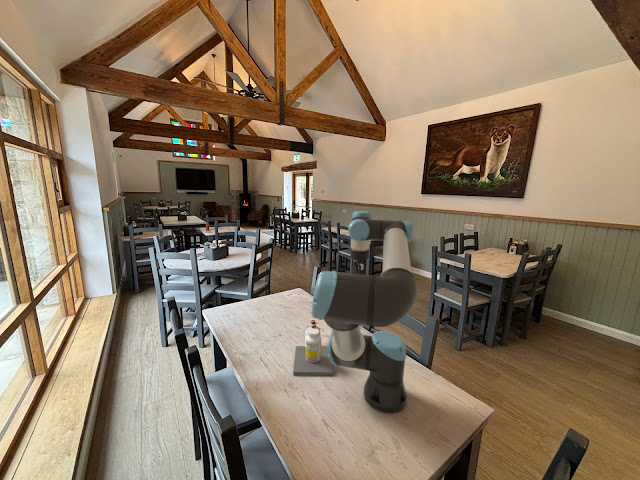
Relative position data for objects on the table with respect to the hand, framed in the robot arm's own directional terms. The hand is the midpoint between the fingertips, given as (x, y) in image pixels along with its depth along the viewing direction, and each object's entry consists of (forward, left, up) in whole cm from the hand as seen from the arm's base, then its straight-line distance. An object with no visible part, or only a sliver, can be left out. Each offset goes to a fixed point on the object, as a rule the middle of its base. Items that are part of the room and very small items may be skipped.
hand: (357, 297), depth 113 cm
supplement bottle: (-2, +18, -27) cm, 33 cm away
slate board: (-2, +18, -29) cm, 34 cm away
